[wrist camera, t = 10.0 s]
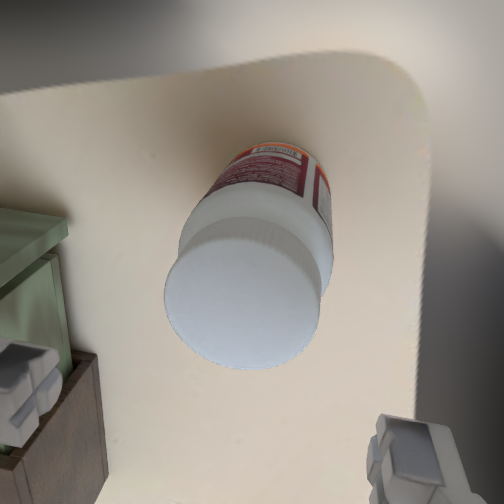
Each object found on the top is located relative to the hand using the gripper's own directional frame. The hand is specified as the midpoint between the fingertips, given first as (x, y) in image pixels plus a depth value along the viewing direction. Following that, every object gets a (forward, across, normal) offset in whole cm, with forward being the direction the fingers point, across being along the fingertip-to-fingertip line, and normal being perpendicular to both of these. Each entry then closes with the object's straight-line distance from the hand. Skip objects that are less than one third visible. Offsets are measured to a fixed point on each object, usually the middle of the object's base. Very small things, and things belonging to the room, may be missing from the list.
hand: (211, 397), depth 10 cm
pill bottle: (+15, 0, 0) cm, 15 cm away
